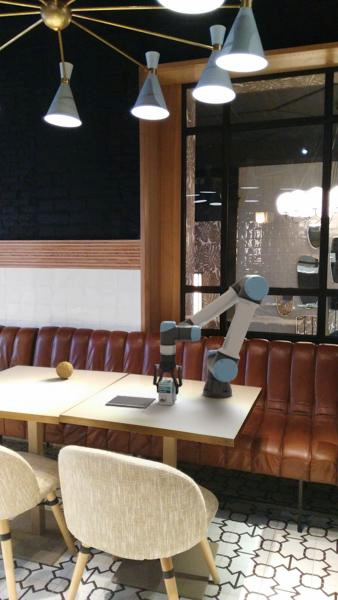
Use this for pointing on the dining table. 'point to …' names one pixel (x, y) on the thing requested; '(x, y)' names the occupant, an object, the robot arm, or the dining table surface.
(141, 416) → the dining table surface
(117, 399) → the mat
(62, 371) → the stress ball
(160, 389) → the light bulb box
